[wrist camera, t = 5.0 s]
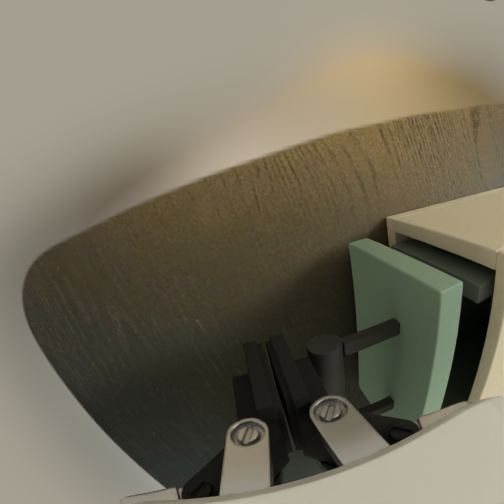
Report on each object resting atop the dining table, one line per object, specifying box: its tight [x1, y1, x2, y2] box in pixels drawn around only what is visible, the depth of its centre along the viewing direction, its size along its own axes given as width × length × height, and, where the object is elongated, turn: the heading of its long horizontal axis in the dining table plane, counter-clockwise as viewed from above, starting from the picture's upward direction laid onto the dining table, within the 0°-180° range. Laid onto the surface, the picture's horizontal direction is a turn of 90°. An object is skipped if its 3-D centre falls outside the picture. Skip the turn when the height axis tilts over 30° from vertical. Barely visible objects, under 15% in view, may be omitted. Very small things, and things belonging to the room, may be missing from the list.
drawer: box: [307, 238, 496, 421], centre depth 13 cm, size 17×10×7 cm, turn 103°
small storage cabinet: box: [386, 187, 504, 403], centre depth 13 cm, size 14×12×9 cm
